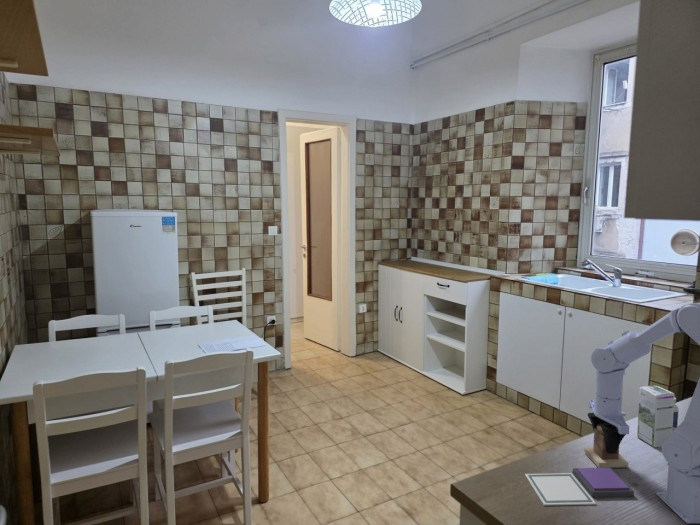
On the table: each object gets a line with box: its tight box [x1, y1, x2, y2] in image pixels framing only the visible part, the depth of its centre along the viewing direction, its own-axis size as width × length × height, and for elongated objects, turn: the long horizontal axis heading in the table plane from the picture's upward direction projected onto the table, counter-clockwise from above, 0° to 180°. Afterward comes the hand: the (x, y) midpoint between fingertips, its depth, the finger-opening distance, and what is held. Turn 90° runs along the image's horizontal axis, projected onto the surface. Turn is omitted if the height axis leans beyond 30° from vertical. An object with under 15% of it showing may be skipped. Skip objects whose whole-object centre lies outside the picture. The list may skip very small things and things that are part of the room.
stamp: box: [583, 423, 629, 469], centre depth 112 cm, size 7×7×9 cm
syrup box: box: [636, 384, 675, 448], centre depth 120 cm, size 6×6×14 cm
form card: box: [524, 472, 597, 506], centre depth 102 cm, size 11×11×1 cm
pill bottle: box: [672, 396, 679, 433], centre depth 127 cm, size 5×5×10 cm
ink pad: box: [572, 467, 635, 498], centre depth 104 cm, size 9×9×2 cm
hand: (606, 447), depth 113 cm, fingers closed on stamp, 4 cm apart
